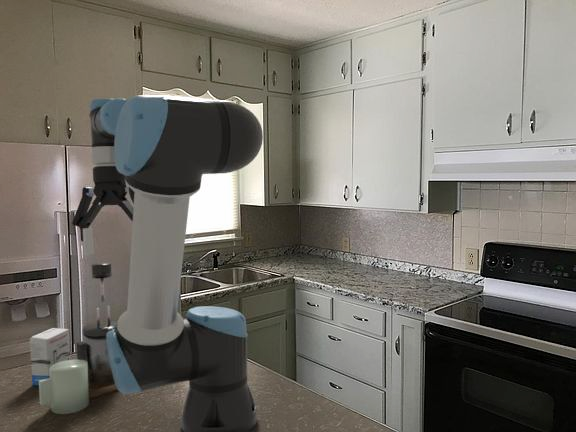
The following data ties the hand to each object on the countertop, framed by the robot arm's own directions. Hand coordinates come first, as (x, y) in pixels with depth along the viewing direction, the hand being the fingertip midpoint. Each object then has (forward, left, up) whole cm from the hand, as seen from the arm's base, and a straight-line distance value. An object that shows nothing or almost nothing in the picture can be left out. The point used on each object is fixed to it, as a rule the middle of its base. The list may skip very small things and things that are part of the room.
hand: (113, 255), depth 117 cm
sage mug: (-5, +14, -31) cm, 35 cm away
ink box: (+13, +11, -31) cm, 36 cm away
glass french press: (+2, +2, -31) cm, 31 cm away
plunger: (+2, +2, -11) cm, 12 cm away
